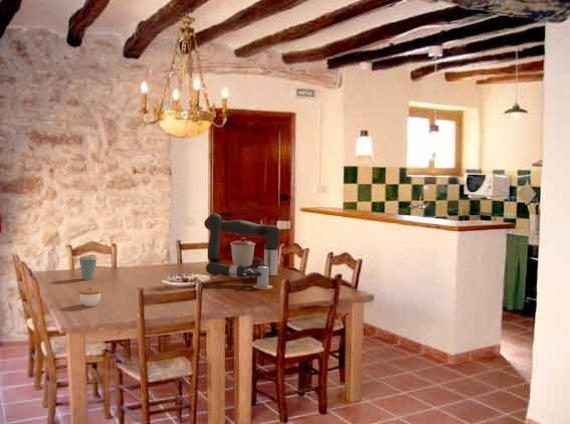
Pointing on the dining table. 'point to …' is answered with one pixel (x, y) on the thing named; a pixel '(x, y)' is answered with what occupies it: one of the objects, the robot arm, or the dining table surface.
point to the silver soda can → (262, 277)
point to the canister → (242, 252)
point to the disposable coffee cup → (88, 266)
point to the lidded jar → (90, 296)
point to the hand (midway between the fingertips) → (263, 273)
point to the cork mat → (263, 288)
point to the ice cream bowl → (257, 263)
